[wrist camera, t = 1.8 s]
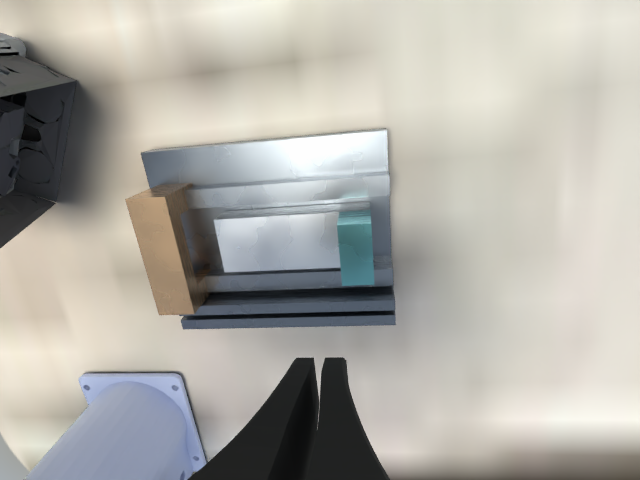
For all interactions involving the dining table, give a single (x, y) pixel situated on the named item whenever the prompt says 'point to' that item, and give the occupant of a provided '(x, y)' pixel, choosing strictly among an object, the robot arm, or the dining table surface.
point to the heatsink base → (261, 193)
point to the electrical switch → (5, 139)
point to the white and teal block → (299, 240)
